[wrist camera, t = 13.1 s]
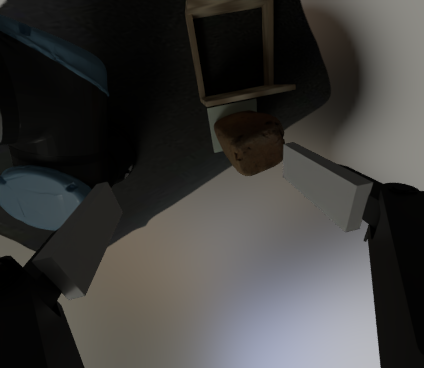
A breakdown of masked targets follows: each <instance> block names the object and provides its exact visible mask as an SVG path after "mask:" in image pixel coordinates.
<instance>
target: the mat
mask: <svg viewBox="0 0 424 368" xmlns="http://www.w3.org/2000/svg"><path fill="white" fill-rule="evenodd" d="M247 110H251V111H255V112H257V102H256V99H251V100H246V101H241V102H236V103H231V104H226V105H221V106H216V107H211V108H207V112H208V117H209V123H210V129H211V135H212V141H213V147H214V152H220V151H223V149H222V147H221V145H220V143H219V141H218V139H217V136H216V134H215V131H214V124H215V122H216V121H218V120H219V119H221V118H223V117H225V116H227V115H230V114H233V113H236V112H241V111H247Z"/></svg>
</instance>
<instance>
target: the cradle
mask: <svg viewBox="0 0 424 368" xmlns="http://www.w3.org/2000/svg"><path fill="white" fill-rule="evenodd" d="M259 7H262V30H263V69H264V86H258V87H253V88H248V89H243V90H238V91H233V92H228V93H223V94H218V95H212V96H207V97H206V96H205V90H204V84H203V78H202V72H201V66H200V60H199V54H198V48H197V42H196V36H195V30H194V24H193V19H195V18H201V17H207V16H213V15H218V14H224V13H230V12H236V11H242V10H247V9H253V8H259ZM185 18H186V23H187V29H188V34H189V40H190V45H191V51H192V56H193V62H194V68H195V73H196V79H197V84H198V90H199V95H200V101H201V102H202V103H203V104H204V105H205V106H207V107H209V106H214V105H219V104H224V103H230V102H235V101H240V100H245V99H250V98H255V97H260V96H265V95H270V94H275V93H280V92H285V91H290V90H295V85H274V61H273V0H186V7H185Z"/></svg>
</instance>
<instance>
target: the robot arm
mask: <svg viewBox="0 0 424 368" xmlns="http://www.w3.org/2000/svg"><path fill="white" fill-rule="evenodd" d="M108 97H109V92H108V87H107V71H106V68H105V66H104V64H103V63H102V61H101V60H100V59H99V58H98V57H96V56H95V55H93V54H92V53H90V52H88V51H86V50H84V49H82V48H80V47H78V46H76V45H74V44H72V43H70V42H68V41H66V40H63V39H61V38H59V37H57V36H54V35H52V34H50V33H47V32H45V31H42V30H40V29H37V28H35V27H29V26H28V25H26V24H24V23H21V22H18V21H16V20H14V19H12V18H9V17H6V16H3V15H1V14H0V145H3V144H8V146H9V150H10V155H11V159H12V163H13V167H11V168H9V169H6V170H5V171H3V172H2V174H1V176H0V205H1V207H2V208H3V209H4V210H5V211H6V212H8V213H9V214H10V215H12V216H13V217H14V218H16V219H19V220H21V221H23V222H25V223H26V224H28V225H31V226H34V227H37V228H42V229H47V230H56V231H55V232H54V233H52V234H51V235H50V237H49V238H48V239H47V240H46V242H45V243H43V245H42V246H41V247H40V249H38V250H37V252H36V253H35V254H34V255H33V256H32V257H31V259H30V260H29V261H28V262H27V263H26V264H25V266H24V267H22V266H21V265H20V264H19V263H17V262H16V261H15V259H13V258H12V257H11V256H4V257H0V368H84V365H83V363H82V360H81V357H80V354H79V352H78V349H77V347H76V344H75V341H74V338H73V335H72V333H71V330H70V328H69V325H68V322H67V319H66V317H65V314H64V311H63V308H62V306H61V305H60V303H59V302H58V301H57V300H58V298H59V296H60V294H61V293H62V294H64V296H65V297H66V298H67V299H69V300H70V299H75V298H79V297H83V296H85V295H86V293H87V291H88V288H89V286H90V284H91V282H92V280H93V277H94V275H95V273H96V271H97V268H98V266H99V264H100V262H101V260H102V257H103V255H104V253H105V251H106V249H107V246H108V244H109V242H110V240H111V237H112V235H113V233H114V231H115V229H116V226H117V224H118V222H119V220H120V217H121V215H122V213H123V212H122V210H121V208H120V206H119V204H118V202H117V200H116V198H115V196H114V194H113V192H112V190H111V188H112V186H113V185H114V184H116V183H119V182H121V181H123V180H124V179H125V178H127V177H128V176H129V174H130V173H131V171H132V169H133V168H134V165H135V161H136V154H135V149H134V147H133V144H132V143H131V141H130V139H129V138H128V137H127V136H126V135H125V134H124V133H123V132H122V131H121V130H119V129H118V128H116V127H114V126H112V125H110V124H108ZM283 177H284V178H285V179H286V180H287V181H288V182H289V183H291V184H292V185H293V186H294V187H295V188H296V189H298V190H299V191H300V192H301V193H302V194H303V195H304V196H305V197H306V198H308V199H309V200H310V201H311V202H312V203H313V204H314V205H315V206H316V207H318V208H319V209H320V210H321V211H322V212H323V213H324V214H325V215H327V216H328V217H329V218H330V219H331V220H332V221H333V222H334V223H335V224H337V225H338V226H339V227H340V228H341V229H342V230H343V231H344V232H349V231H353V230H357V229H359V228H360V225H361V222H362V219H363V220H364V221H365V222H367V223H368V224H369V225H368V229H367V232H366V235H365V238H364V241H365V242H366V241H367V239H368V245H369V255H370V265H371V274H372V285H373V294H374V305H375V314H376V325H377V335H378V345H379V354H380V365H381V368H424V191H419V190H418V189H417V188H415V187H413V186H410V185H406V184H401V183H385V184H382V183H380V182H378V181H376V180H374V179H372V178H370V177H368V176H366V175H364V174H362V173H360V172H357V171H355V170H354V169H351V168H349V167H347V166H343V165H339V164H336V163H333V162H332V161H330V160H328V159H325V158H324V157H322V156H320V155H318V154H316V153H314V152H312V151H310V150H308V149H306V148H304V147H302V146H300V145H298V144H296V143H294V142H292V143H287V144H283Z"/></svg>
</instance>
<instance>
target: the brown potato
mask: <svg viewBox="0 0 424 368" xmlns="http://www.w3.org/2000/svg"><path fill="white" fill-rule="evenodd" d="M214 131H215V134H216V136H217V139H218V141H219V143H220V145H221V147H222V149H223V151H224V153H225V154H226V156H227V157H228V159H229V160H230V162H231V163H232V165H233V166H234V167H235V168H236V170H237V171H238V172H239V173H241V174H242V175H245V176H252V175H255V174H257V173H260V172H262V171H265V170H267V169H269V168H271V167H274V166H276V165H277V164H279V163H280V162H281V161H282V160H283V144H285V141H284V139H283V136H284V130H283V127H282V125H281V123H280V121H279V120H278V119H277V118H276V117H273V116H271V115H269V114H265V113H260V112H259V113H258V112H255V111H251V110H247V111H241V112H236V113H233V114H230V115H227V116H225V117H223V118H221V119H219V120H218V121H216V122H215V124H214Z"/></svg>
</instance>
